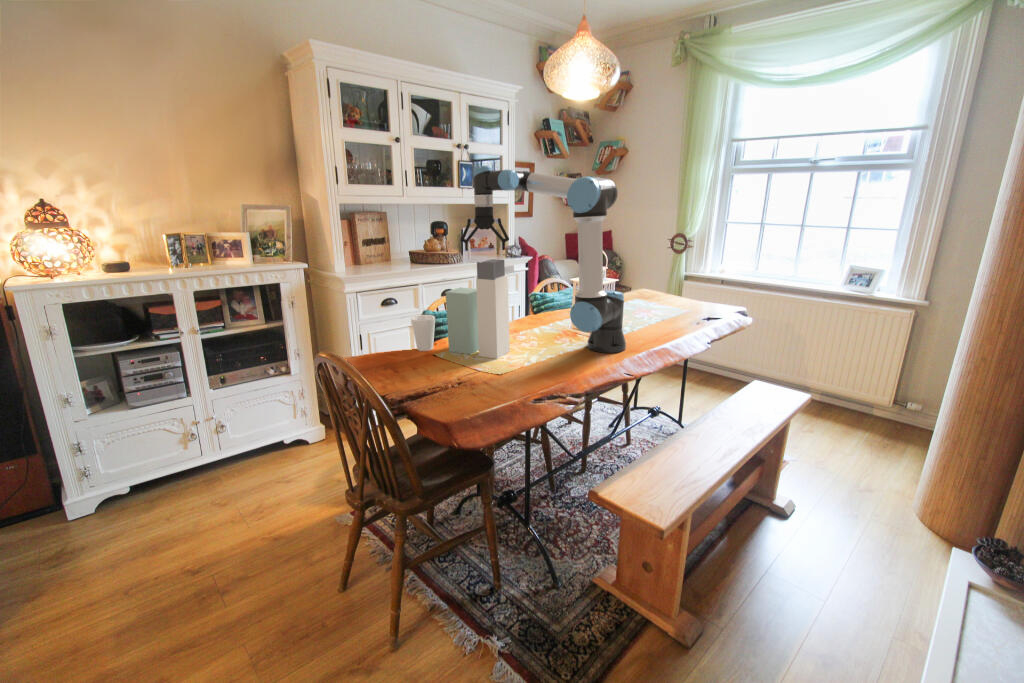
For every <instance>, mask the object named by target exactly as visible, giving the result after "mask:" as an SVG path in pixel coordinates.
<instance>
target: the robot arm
mask: <svg viewBox="0 0 1024 683" xmlns="http://www.w3.org/2000/svg"><path fill="white" fill-rule="evenodd" d="M473 189H474V190H473V191H474V192H473V194H474V195H473V196H474V197H473V201H474V206H475V207H474V219H473V218H472V219H471V218H468V219H467V222H466V226H465V229H464V231H463V234H461V235H462V236H461V238H460V242H463V243H464V250H465V251H466V252H467V257H468V258H467V259H468V260H471V258H472V257H471V242H469V241H470V240H471V238H472V237H473V236H474V235H475V234H476V232H477V231H478V230H487V231H488V230H489V229H491V231H492V232H493V233H494V235H495V236H497V237H498V239H499V240H500V245H499V246H500V250H499V251H500V259H503V256H504V254H503V251H505V250H506V242H509V240H510V238H509V236H508V233H507V231H506V230H505V228H504V225H503V224H502V219H501V218H500V217H497V218H494V206H493V205H494V196H493V194H494V193H493V192H494V191H499V192H500V191H504V192H507V191H508V192H509V191H522V192H527V193H533V194H534V193H535V194H538V195H539V194H540V195H546V196H551V197H557V198H564V199H566V201H567V205H568V207H569V208H570V209H571V210H572V216H573V217H572V218H573V220H574V221H576V223H577V246H578V247H577V248H578V249H577V250H578V251H577V252H578V291H577V292H576V293H575V295H574V304H573V305H572V307H571V308H570V311H569V317H570V321H571V323H572V325H573V326H574V327H576V329H577V330H579V331H581V332H584V333H589V336H588V339H587V345H586V346H587V348H588V349H589V350H591V351H593V352H595V353H606V354H612V353H614V354H615V353H620V352H623V351H624V350H626V348H627V347H626V346H627V341H626V338H625V335H624V331H623V321H624V320H623V319H624V307H625V306H624V305H625V295H624V293H623V292H622V291H616V290H608V289H604V281H603V280H604V270H603V268H604V266H603V265H604V264H603V262H604V260H603V255H604V253H603V252H604V251H603V250H604V249H603V247H604V246H603V245H604V244H603V222H604V220H605V219H606V218H607V217H608V216H607V214H608V210H609V209H611V207H613V206H614V205H615V203H616V202H617V198H618V192H619V191H618V188H617V185H616V184H615V182H614V181H613V180H611V179H610V178H608V177H604V176H603V177H602V176H601V177H600V176H593V175H592V176H591V175H589V176H588V175H587V176H583V177H582V176H581V177H578V178H573V177H572V178H571V177H566V176H560V175H552V174H544V173H537V172H536V173H535V172H531V171H527V170H526V171H525V170H521V171H520V170H519V171H518V170H515V169H501V170H493V168H492V166H490V165H476V166H474V168H473ZM473 223H474V224H475V225H476V226H475V228H474V229H473V230H472V231H471V233H470V234H469V235H468V236H467V234H468V232H469V230H470V227H471V225H473ZM493 224H497V225H498V227H499V228H500V230H501V233H502V234H503V235H504V237H503V236H502V234H501V233H500V232H499V231H498V230H497V229H496V227H495V226H494V225H493ZM466 236H467V238H466Z"/></svg>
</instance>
